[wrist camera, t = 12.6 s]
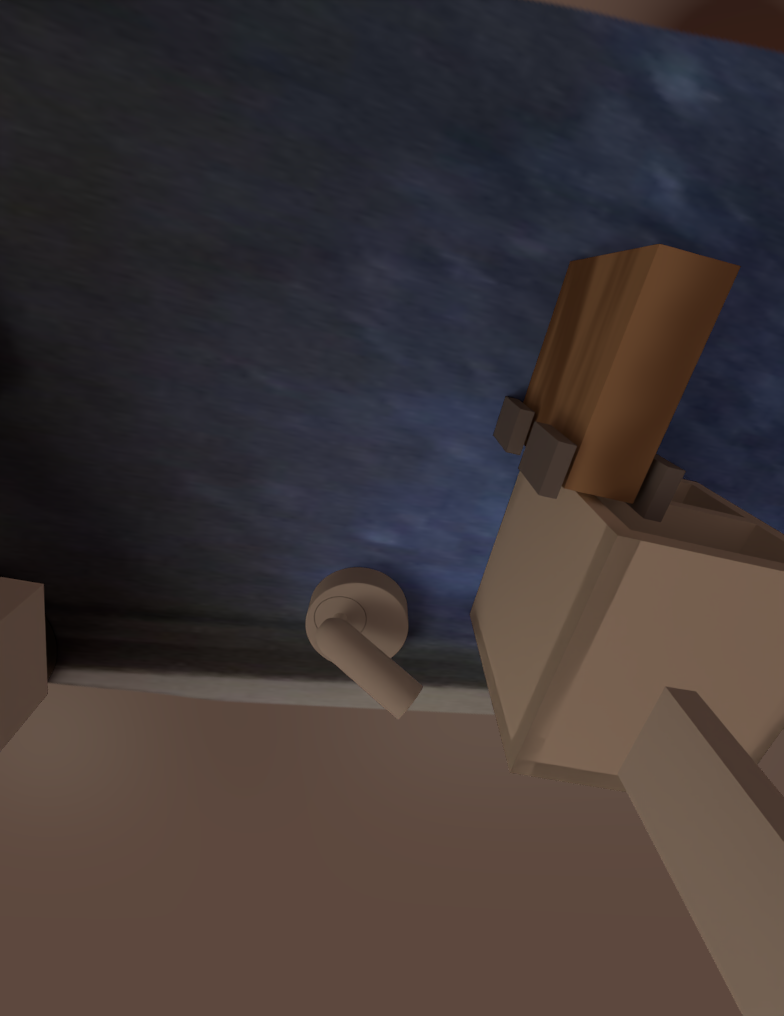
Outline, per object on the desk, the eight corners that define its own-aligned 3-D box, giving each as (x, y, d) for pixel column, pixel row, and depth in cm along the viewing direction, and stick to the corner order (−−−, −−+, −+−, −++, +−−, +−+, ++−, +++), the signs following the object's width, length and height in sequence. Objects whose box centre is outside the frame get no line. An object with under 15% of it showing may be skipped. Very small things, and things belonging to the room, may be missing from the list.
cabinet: (438, 608, 44) (462, 765, 29) (505, 396, 37) (583, 462, 22) (616, 643, 46) (725, 808, 31) (715, 446, 38) (918, 539, 24)
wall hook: (386, 756, 38) (268, 702, 36) (387, 669, 47) (292, 622, 45) (452, 681, 35) (328, 617, 33) (439, 604, 44) (341, 549, 42)
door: (512, 432, 38) (563, 488, 27) (570, 261, 33) (659, 243, 22) (577, 447, 38) (653, 508, 27) (642, 280, 34) (764, 272, 23)
